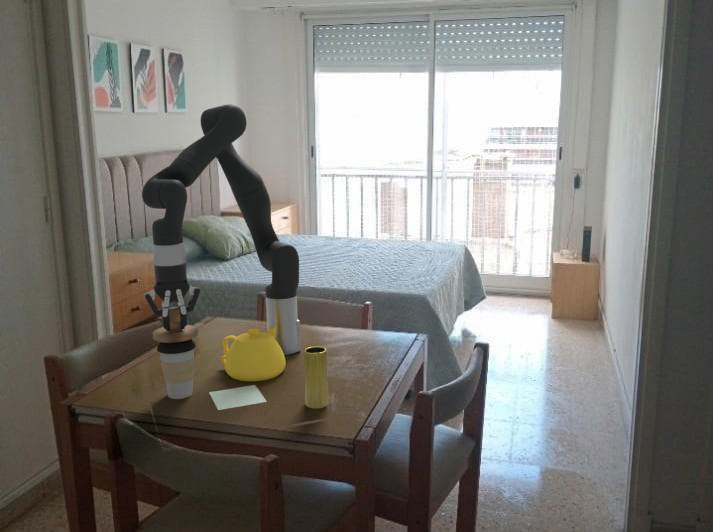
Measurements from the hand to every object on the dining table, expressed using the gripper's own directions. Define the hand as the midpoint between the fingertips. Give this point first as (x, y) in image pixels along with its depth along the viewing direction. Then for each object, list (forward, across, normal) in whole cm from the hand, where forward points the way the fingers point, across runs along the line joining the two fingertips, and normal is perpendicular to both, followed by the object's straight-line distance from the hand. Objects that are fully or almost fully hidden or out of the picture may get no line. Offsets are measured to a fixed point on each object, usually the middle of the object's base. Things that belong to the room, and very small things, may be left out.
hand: (175, 328), depth 170 cm
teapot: (+18, -22, -10) cm, 30 cm away
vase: (+18, -30, +20) cm, 40 cm away
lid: (+2, 0, 0) cm, 2 cm away
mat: (+18, -13, +8) cm, 23 cm away
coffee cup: (+18, 0, 0) cm, 18 cm away
